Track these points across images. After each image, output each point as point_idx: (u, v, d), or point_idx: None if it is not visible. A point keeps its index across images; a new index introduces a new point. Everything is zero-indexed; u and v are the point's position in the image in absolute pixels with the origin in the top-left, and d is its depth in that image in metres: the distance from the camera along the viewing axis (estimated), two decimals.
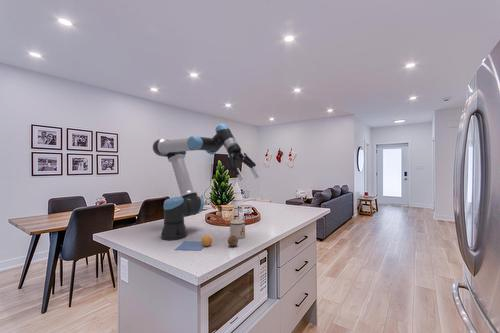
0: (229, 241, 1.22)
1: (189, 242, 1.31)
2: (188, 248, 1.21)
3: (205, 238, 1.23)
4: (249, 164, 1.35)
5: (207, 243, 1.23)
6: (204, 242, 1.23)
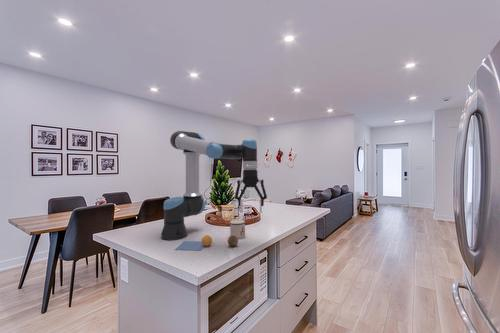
0: (229, 241, 1.22)
1: (189, 242, 1.31)
2: (188, 248, 1.21)
3: (205, 238, 1.23)
4: (258, 194, 1.22)
5: (207, 243, 1.23)
6: (204, 242, 1.23)
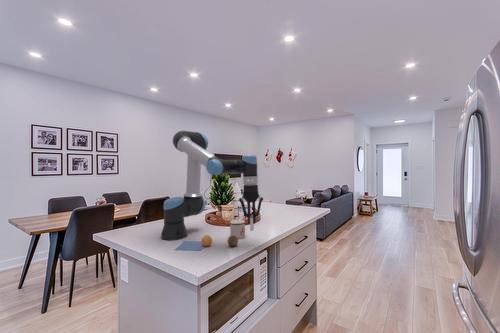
0: (229, 241, 1.22)
1: (189, 242, 1.31)
2: (188, 248, 1.21)
3: (205, 238, 1.23)
4: None
5: (207, 243, 1.23)
6: (204, 242, 1.23)
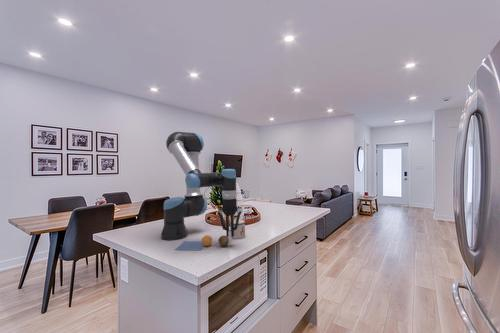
0: (220, 244, 1.22)
1: (189, 242, 1.31)
2: (188, 248, 1.21)
3: (205, 238, 1.23)
4: (231, 224, 1.24)
5: (207, 243, 1.23)
6: (204, 242, 1.23)
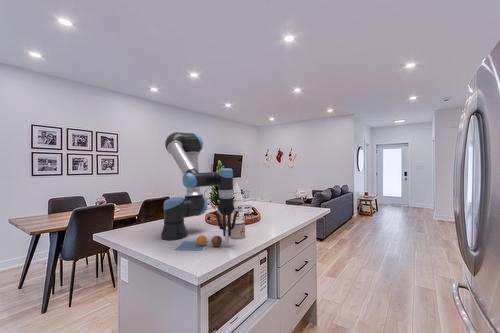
0: (217, 244, 1.22)
1: (189, 242, 1.31)
2: (188, 248, 1.21)
3: (197, 240, 1.24)
4: (228, 224, 1.24)
5: (202, 241, 1.23)
6: (199, 243, 1.23)
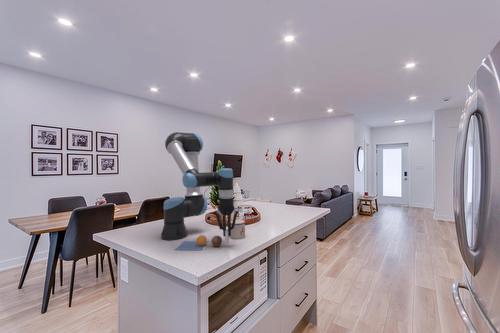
0: (217, 244, 1.22)
1: (189, 242, 1.31)
2: (188, 248, 1.21)
3: (197, 240, 1.24)
4: (228, 224, 1.24)
5: (202, 241, 1.23)
6: (199, 243, 1.23)
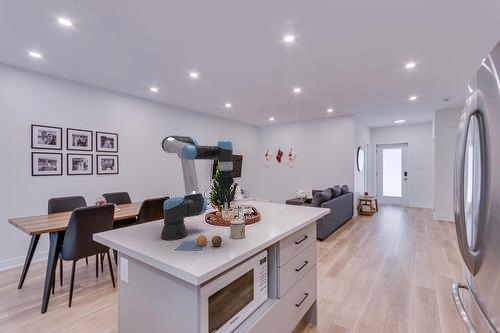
0: (217, 244, 1.22)
1: (189, 242, 1.31)
2: (188, 248, 1.21)
3: (197, 240, 1.24)
4: (227, 196, 1.24)
5: (202, 241, 1.23)
6: (199, 243, 1.23)
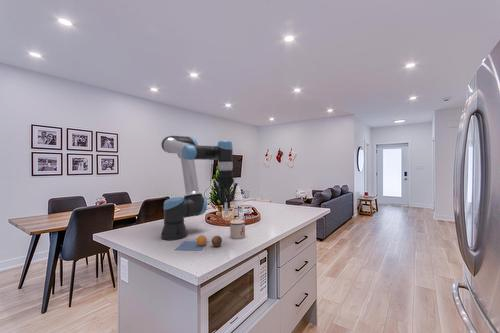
0: (217, 244, 1.22)
1: (189, 242, 1.31)
2: (188, 248, 1.21)
3: (197, 240, 1.24)
4: (227, 196, 1.24)
5: (202, 241, 1.23)
6: (199, 243, 1.23)
